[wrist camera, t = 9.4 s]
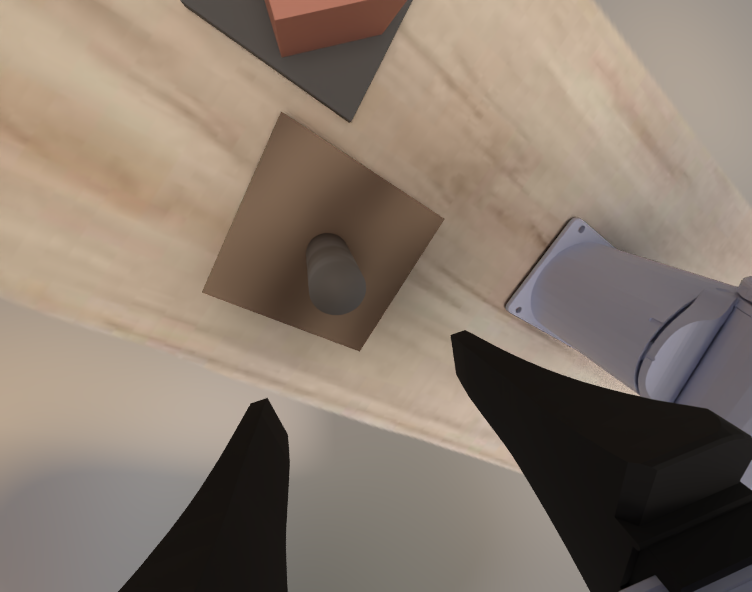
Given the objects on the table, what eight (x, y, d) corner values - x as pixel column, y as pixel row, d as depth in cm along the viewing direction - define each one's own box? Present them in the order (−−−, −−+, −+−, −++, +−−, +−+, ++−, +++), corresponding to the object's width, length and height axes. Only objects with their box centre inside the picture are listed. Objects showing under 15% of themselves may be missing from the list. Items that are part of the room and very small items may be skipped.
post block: (434, 214, 19) (491, 241, 14) (355, 339, 22) (376, 406, 16) (282, 114, 15) (273, 94, 10) (208, 281, 18) (167, 344, 12)
